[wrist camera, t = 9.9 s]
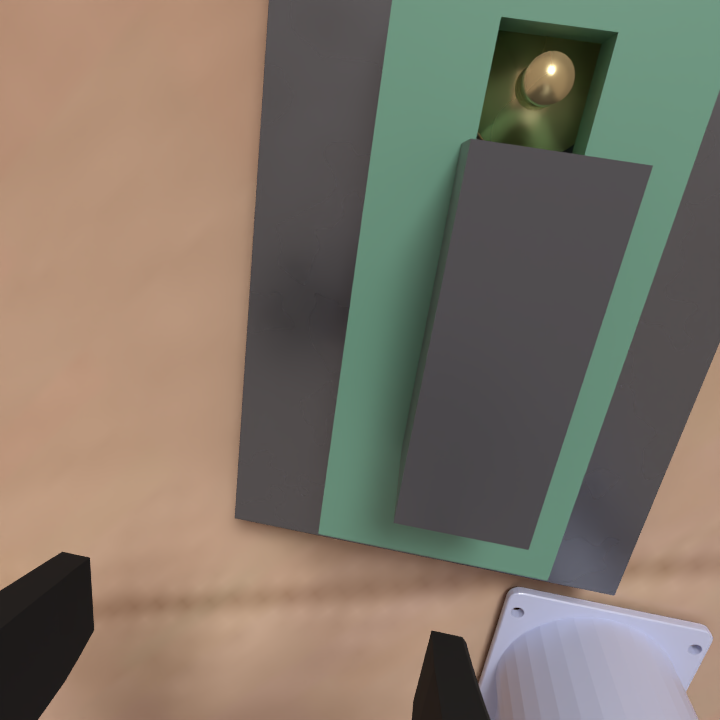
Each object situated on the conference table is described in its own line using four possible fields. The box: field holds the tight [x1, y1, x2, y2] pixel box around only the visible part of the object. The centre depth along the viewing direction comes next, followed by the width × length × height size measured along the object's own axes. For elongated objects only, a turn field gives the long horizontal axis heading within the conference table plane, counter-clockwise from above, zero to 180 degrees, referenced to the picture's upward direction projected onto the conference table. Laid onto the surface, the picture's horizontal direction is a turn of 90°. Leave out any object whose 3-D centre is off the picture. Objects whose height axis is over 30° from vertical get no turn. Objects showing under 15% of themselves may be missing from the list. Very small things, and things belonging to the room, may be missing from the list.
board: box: [318, 0, 720, 581], centre depth 12 cm, size 15×7×4 cm, turn 172°
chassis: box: [235, 0, 720, 595], centre depth 15 cm, size 20×14×5 cm
